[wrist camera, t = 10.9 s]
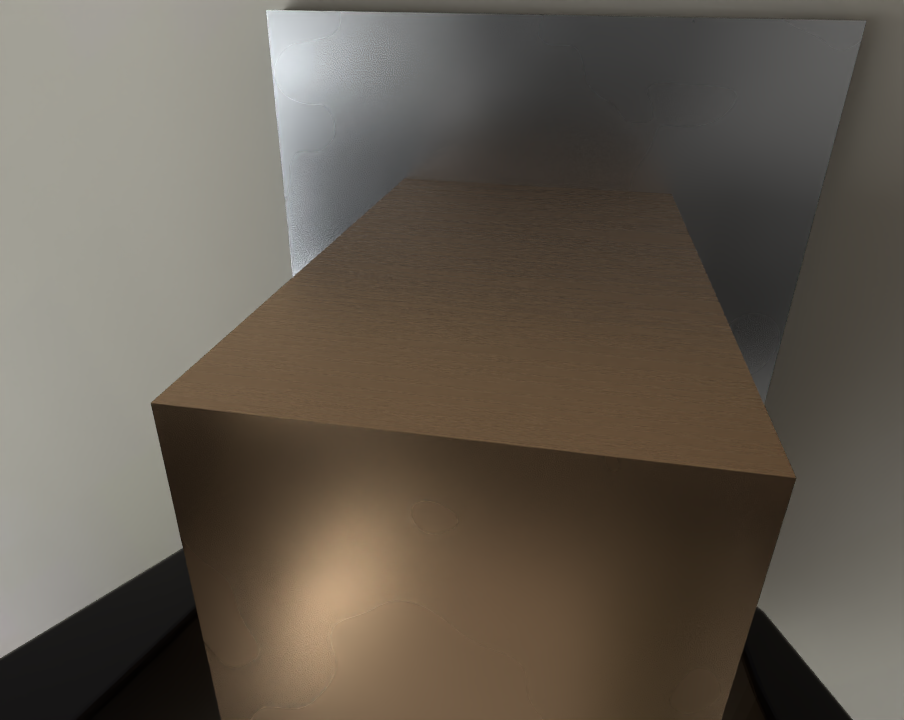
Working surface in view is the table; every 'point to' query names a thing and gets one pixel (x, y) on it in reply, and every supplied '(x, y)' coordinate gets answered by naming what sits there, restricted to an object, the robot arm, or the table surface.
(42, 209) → the table surface
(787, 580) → the table surface
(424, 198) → the block on grey plate
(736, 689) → the robot arm
